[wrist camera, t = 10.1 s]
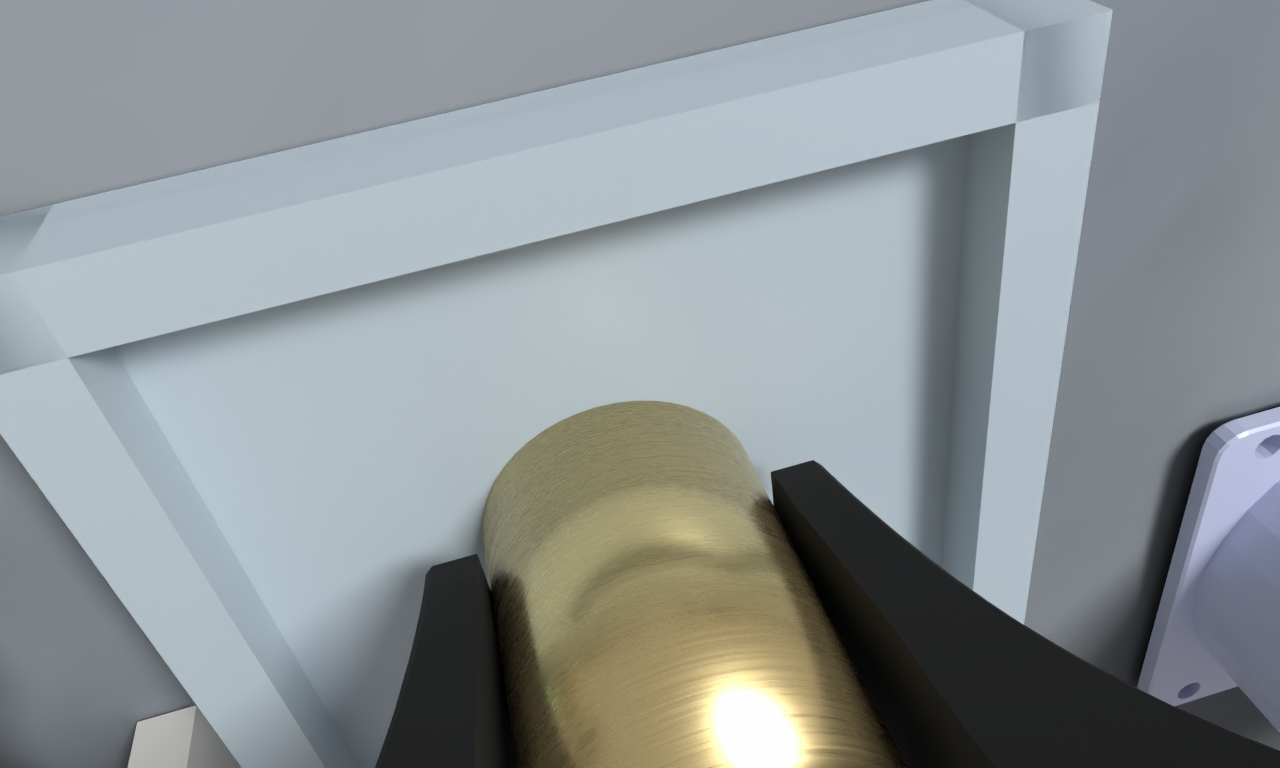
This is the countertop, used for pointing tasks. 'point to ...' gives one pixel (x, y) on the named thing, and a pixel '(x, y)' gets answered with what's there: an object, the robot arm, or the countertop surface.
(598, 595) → the cylinder
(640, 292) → the tray
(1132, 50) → the countertop surface
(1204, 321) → the countertop surface
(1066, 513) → the countertop surface
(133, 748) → the white block
